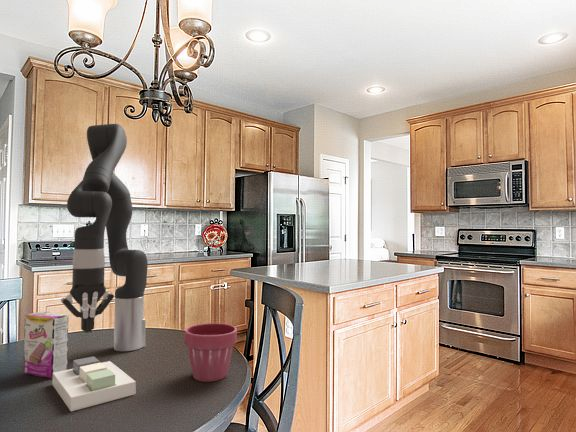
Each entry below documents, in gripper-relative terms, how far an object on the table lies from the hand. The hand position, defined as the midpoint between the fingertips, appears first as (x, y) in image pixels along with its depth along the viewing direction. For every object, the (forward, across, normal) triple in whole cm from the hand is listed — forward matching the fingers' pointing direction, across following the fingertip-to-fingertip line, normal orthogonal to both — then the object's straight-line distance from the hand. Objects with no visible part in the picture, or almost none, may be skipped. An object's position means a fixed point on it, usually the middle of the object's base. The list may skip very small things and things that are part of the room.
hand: (87, 331), depth 102 cm
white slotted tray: (+13, 0, +6) cm, 14 cm away
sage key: (+10, 0, +13) cm, 17 cm away
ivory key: (+10, 0, +6) cm, 12 cm away
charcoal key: (+10, 0, 0) cm, 10 cm away
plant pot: (+13, -27, +18) cm, 35 cm away
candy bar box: (+13, +7, -14) cm, 20 cm away
